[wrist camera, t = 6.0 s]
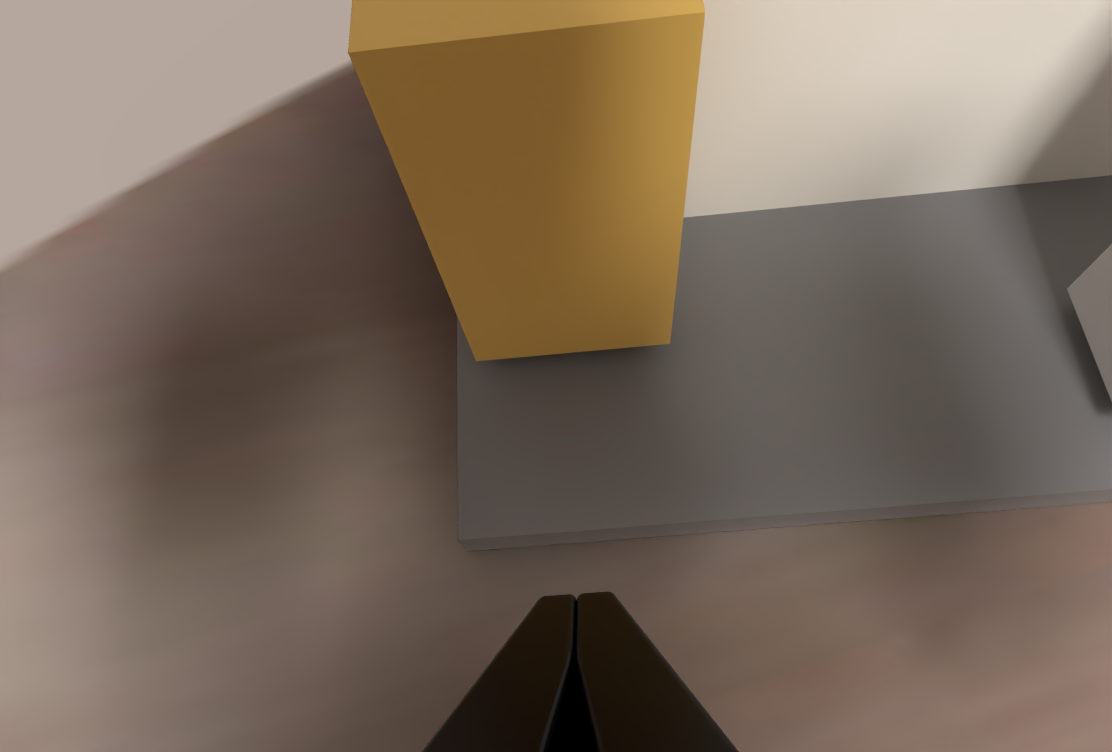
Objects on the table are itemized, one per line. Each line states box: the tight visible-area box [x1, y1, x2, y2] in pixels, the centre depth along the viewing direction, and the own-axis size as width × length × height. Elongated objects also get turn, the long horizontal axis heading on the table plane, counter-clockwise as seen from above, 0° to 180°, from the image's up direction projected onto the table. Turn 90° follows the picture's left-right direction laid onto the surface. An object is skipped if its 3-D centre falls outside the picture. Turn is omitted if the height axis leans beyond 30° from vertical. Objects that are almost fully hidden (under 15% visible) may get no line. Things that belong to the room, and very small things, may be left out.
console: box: [457, 0, 1112, 551], centre depth 12 cm, size 11×17×12 cm, turn 93°
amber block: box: [348, 0, 705, 361], centre depth 13 cm, size 3×4×8 cm
